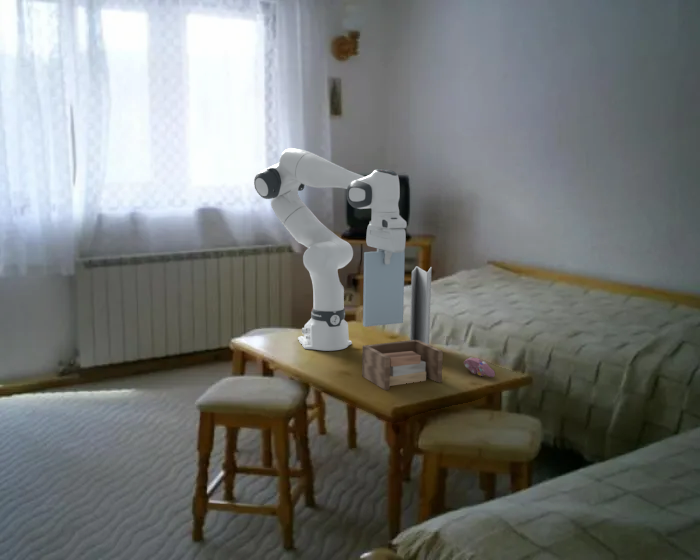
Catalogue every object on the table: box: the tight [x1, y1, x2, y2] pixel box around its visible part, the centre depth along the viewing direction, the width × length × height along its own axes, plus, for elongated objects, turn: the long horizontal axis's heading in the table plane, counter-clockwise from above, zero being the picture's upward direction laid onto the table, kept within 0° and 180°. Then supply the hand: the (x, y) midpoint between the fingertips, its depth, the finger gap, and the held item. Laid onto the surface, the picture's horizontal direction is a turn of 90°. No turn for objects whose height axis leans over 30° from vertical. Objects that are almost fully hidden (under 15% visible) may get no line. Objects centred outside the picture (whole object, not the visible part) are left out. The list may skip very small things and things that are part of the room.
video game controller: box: [463, 356, 496, 378], centre depth 235 cm, size 10×5×7 cm, turn 35°
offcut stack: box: [384, 351, 427, 387], centre depth 228 cm, size 7×13×8 cm, turn 116°
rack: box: [361, 339, 444, 391], centre depth 229 cm, size 15×20×10 cm
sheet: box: [362, 250, 406, 328], centre depth 237 cm, size 2×14×24 cm, turn 116°
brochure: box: [409, 265, 433, 345], centre depth 260 cm, size 14×6×30 cm, turn 168°
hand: (384, 263), depth 235 cm, fingers closed on sheet, 2 cm apart
